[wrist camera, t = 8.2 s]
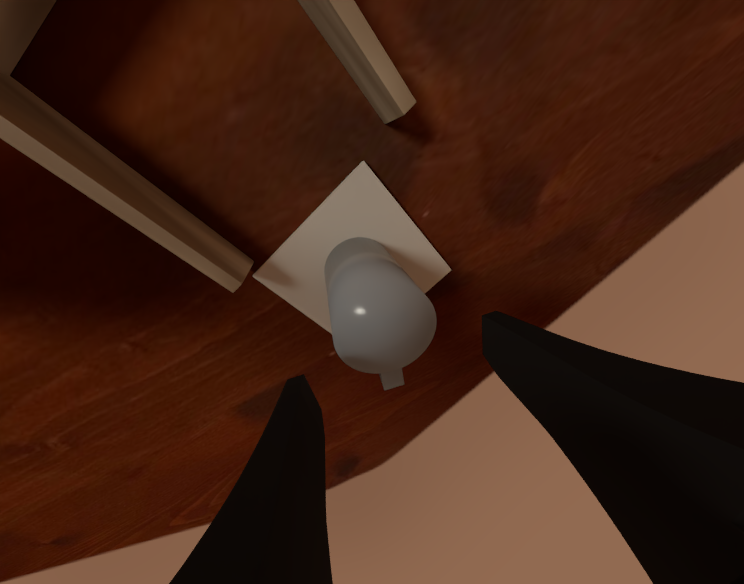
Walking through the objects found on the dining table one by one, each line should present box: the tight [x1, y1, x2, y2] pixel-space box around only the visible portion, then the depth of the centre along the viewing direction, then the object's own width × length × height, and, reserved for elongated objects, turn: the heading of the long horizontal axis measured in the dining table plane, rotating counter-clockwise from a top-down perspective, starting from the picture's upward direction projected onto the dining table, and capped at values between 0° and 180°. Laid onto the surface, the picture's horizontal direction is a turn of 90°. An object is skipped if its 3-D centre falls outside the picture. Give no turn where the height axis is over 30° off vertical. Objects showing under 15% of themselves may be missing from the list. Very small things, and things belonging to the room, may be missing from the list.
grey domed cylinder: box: [324, 237, 437, 390], centre depth 16 cm, size 7×5×8 cm
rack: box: [0, 0, 416, 293], centre depth 11 cm, size 13×13×4 cm
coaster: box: [252, 161, 451, 334], centre depth 19 cm, size 10×10×1 cm
